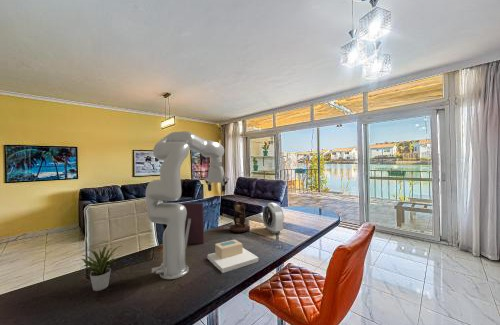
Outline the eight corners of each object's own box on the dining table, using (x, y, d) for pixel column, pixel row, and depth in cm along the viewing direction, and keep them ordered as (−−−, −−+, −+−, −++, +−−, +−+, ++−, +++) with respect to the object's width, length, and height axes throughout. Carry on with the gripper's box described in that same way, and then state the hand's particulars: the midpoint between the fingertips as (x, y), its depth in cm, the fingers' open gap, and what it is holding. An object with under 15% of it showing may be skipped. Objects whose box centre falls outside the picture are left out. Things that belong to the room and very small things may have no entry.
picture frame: (204, 243, 136) (203, 202, 135) (198, 249, 126) (198, 206, 126) (178, 242, 137) (177, 202, 137) (171, 248, 127) (170, 205, 127)
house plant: (116, 272, 100) (115, 237, 100) (129, 283, 91) (128, 244, 91) (77, 287, 89) (77, 247, 89) (87, 300, 80) (87, 256, 80)
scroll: (254, 230, 159) (253, 203, 159) (238, 235, 149) (238, 206, 149) (240, 226, 170) (240, 200, 170) (225, 230, 160) (225, 203, 159)
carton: (221, 259, 108) (221, 248, 108) (215, 253, 115) (215, 243, 115) (242, 253, 115) (242, 243, 115) (235, 248, 122) (235, 239, 122)
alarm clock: (262, 228, 163) (261, 201, 163) (271, 226, 167) (271, 200, 167) (274, 235, 147) (274, 205, 147) (285, 233, 151) (284, 204, 150)
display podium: (222, 273, 99) (222, 268, 99) (207, 258, 114) (207, 254, 114) (258, 261, 110) (258, 257, 110) (240, 249, 125) (240, 246, 125)
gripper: (201, 165, 141) (201, 191, 142) (226, 165, 137) (226, 192, 137) (207, 165, 149) (207, 190, 149) (230, 164, 144) (231, 190, 144)
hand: (216, 191), depth 143 cm, fingers open, 9 cm apart
